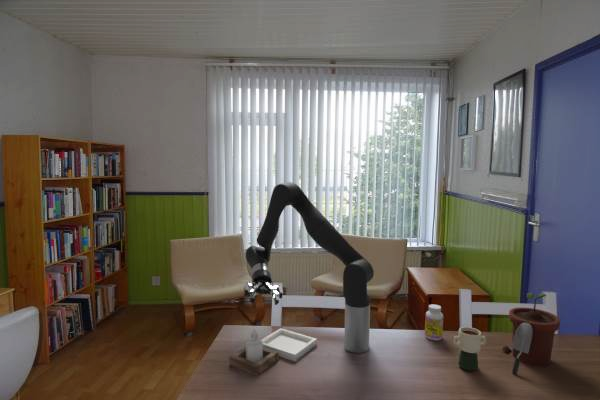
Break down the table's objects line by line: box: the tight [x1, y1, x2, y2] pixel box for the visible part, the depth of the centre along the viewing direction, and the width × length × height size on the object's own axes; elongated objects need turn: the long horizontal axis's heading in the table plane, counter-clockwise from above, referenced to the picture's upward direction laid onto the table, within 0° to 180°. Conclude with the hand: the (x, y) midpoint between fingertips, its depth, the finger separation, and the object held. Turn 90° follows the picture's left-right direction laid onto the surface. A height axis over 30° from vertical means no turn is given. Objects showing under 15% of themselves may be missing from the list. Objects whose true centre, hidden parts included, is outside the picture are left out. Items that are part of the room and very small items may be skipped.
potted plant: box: [502, 292, 561, 375], centre depth 141 cm, size 18×22×25 cm
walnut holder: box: [228, 346, 279, 376], centre depth 139 cm, size 12×12×3 cm
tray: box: [261, 328, 318, 362], centre depth 151 cm, size 15×17×2 cm
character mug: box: [452, 326, 487, 372], centre depth 136 cm, size 11×7×13 cm, turn 91°
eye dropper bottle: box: [245, 328, 263, 363], centre depth 138 cm, size 4×6×12 cm
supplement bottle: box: [424, 303, 444, 341], centre depth 159 cm, size 7×7×13 cm
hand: (265, 302), depth 143 cm, fingers open, 8 cm apart
